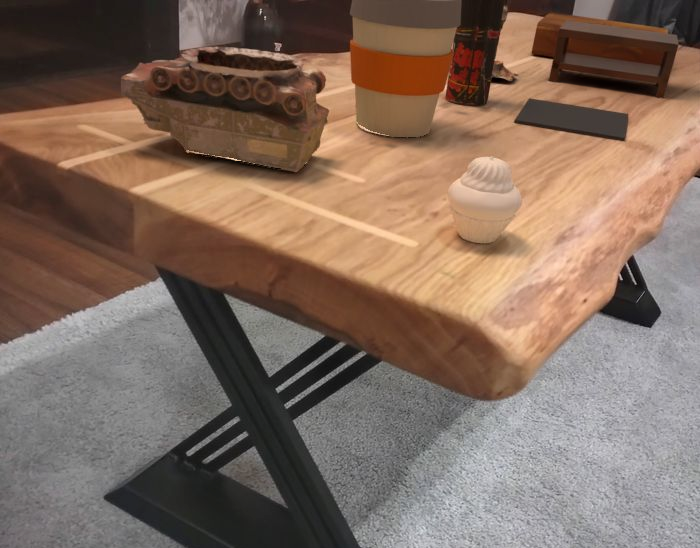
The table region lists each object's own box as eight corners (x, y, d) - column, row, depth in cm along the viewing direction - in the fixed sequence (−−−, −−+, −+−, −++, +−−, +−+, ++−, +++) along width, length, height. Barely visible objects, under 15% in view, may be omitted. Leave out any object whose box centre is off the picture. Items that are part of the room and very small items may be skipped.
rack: (662, 85, 131) (677, 34, 127) (663, 98, 122) (678, 44, 118) (555, 69, 135) (566, 20, 131) (548, 80, 126) (559, 28, 122)
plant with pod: (460, 67, 130) (480, -68, 119) (524, 79, 125) (551, -60, 115) (440, 74, 123) (459, -68, 113) (507, 87, 119) (533, -60, 109)
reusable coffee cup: (465, 133, 94) (486, -1, 87) (397, 148, 86) (414, 2, 79) (389, 108, 101) (402, -17, 94) (319, 121, 93) (328, -15, 86)
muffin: (432, 239, 65) (444, 157, 61) (453, 217, 70) (466, 140, 66) (504, 257, 63) (521, 173, 59) (521, 232, 68) (537, 154, 64)
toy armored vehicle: (282, 196, 71) (286, 86, 66) (96, 156, 76) (87, 52, 71) (334, 158, 81) (341, 62, 76) (168, 126, 87) (165, 33, 82)
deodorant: (438, 95, 111) (454, -21, 103) (475, 95, 112) (494, -18, 105) (456, 105, 106) (474, -15, 98) (494, 106, 108) (515, -12, 100)
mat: (627, 116, 109) (628, 113, 109) (624, 141, 97) (625, 137, 97) (528, 100, 112) (529, 98, 112) (514, 122, 101) (514, 119, 100)
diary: (530, 55, 144) (537, 22, 141) (544, 42, 160) (550, 11, 157) (658, 74, 139) (668, 40, 136) (659, 58, 154) (668, 27, 151)
